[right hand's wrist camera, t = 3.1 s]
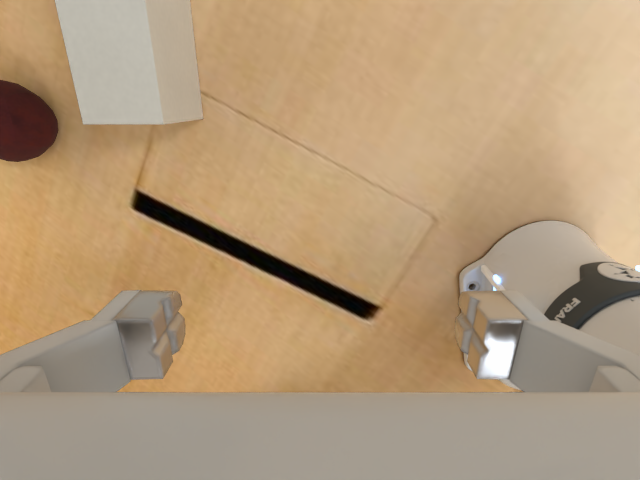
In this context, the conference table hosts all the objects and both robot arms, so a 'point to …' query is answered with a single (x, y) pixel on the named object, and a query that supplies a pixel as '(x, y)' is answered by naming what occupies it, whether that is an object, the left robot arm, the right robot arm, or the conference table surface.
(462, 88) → the conference table surface
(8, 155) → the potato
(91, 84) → the box
